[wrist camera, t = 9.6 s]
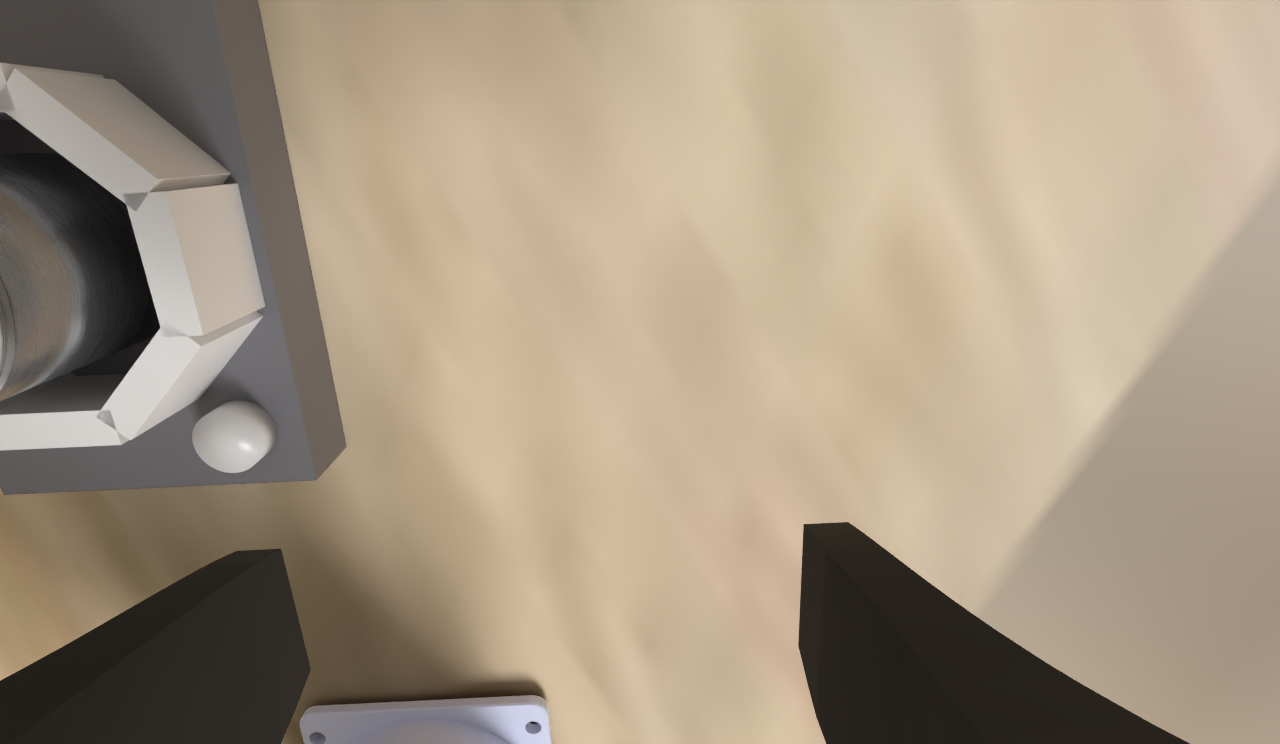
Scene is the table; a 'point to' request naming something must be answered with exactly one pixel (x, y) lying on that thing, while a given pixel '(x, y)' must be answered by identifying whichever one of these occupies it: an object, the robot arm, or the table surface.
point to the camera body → (173, 251)
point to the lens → (64, 272)
